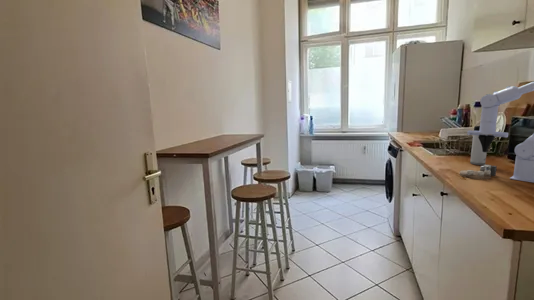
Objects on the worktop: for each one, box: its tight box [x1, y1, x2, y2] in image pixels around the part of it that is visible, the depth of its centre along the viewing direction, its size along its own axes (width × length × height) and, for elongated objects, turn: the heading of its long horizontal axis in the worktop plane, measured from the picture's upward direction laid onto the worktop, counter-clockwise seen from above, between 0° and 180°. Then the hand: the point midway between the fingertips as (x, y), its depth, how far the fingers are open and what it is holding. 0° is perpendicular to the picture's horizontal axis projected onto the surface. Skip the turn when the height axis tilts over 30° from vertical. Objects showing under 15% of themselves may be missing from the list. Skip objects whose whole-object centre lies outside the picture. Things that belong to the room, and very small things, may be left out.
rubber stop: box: [490, 165, 498, 177], centre depth 126 cm, size 1×2×4 cm, turn 128°
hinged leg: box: [479, 163, 493, 172], centre depth 126 cm, size 7×2×3 cm, turn 126°
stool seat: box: [459, 169, 491, 180], centre depth 125 cm, size 11×11×3 cm
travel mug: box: [469, 125, 490, 166], centre depth 146 cm, size 6×7×20 cm
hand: (484, 151), depth 130 cm, fingers closed
